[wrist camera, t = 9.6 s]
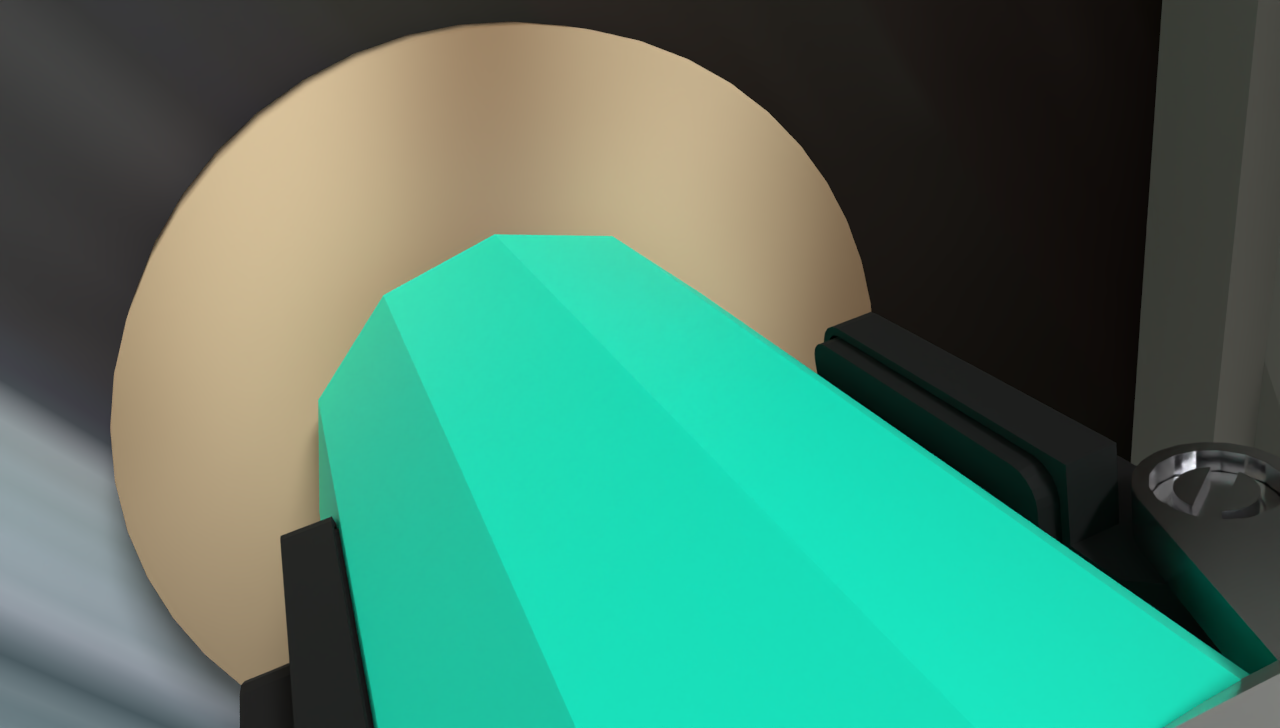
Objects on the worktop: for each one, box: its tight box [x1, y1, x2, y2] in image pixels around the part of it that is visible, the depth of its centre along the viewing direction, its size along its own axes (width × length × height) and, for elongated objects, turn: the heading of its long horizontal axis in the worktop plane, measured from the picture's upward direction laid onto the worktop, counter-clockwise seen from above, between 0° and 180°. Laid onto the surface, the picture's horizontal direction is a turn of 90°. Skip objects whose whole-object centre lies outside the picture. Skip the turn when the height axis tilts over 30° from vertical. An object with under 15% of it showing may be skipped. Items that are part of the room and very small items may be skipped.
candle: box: [318, 234, 1250, 728], centre depth 9 cm, size 6×6×12 cm
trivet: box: [110, 22, 871, 685], centre depth 15 cm, size 11×11×1 cm
